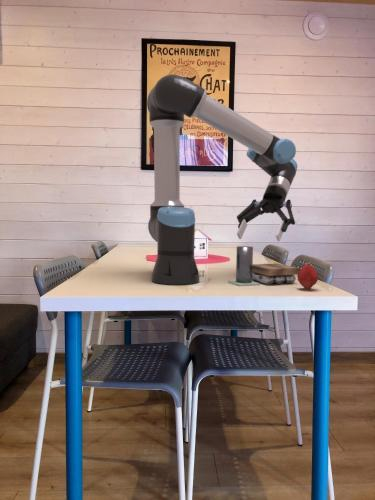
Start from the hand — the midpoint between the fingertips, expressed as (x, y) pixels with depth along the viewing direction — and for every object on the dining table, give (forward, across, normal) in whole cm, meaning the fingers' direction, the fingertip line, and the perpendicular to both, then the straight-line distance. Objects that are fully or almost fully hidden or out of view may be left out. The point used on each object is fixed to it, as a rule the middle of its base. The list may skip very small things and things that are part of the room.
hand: (257, 237), depth 148 cm
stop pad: (+16, 0, -3) cm, 17 cm away
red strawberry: (+15, -19, -5) cm, 25 cm away
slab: (+8, -6, -7) cm, 12 cm away
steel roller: (+16, 0, -3) cm, 16 cm away
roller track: (+10, -6, -9) cm, 15 cm away
